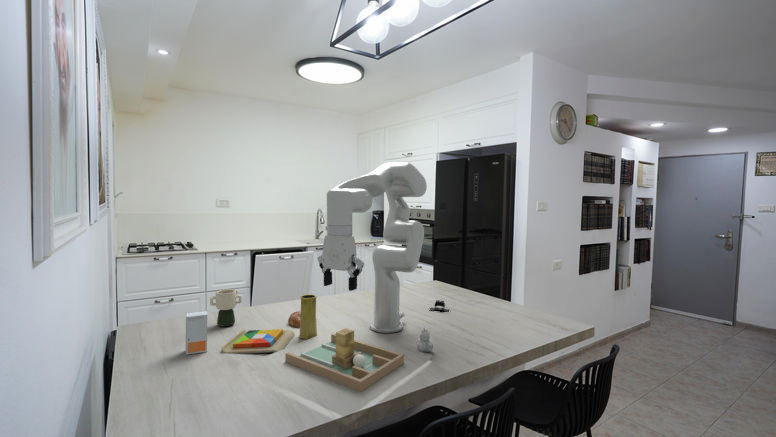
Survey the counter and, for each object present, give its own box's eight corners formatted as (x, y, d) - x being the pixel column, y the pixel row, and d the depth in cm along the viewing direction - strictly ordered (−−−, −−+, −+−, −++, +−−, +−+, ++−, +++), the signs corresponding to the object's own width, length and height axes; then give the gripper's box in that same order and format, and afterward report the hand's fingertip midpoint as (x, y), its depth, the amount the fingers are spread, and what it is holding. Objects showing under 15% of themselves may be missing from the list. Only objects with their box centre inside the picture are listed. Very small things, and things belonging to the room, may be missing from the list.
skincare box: (185, 355, 111) (185, 316, 111) (185, 350, 115) (185, 313, 115) (207, 352, 114) (207, 314, 114) (207, 347, 118) (207, 310, 117)
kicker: (346, 355, 110) (346, 326, 110) (361, 360, 107) (362, 330, 106) (330, 363, 104) (330, 332, 104) (345, 369, 101) (346, 337, 101)
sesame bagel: (311, 329, 137) (311, 319, 137) (282, 328, 138) (282, 318, 138) (319, 318, 149) (319, 309, 149) (293, 317, 150) (293, 308, 149)
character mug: (241, 320, 144) (241, 288, 144) (241, 326, 138) (241, 292, 137) (210, 323, 140) (210, 290, 139) (209, 329, 133) (209, 294, 133)
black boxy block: (454, 310, 165) (454, 300, 164) (452, 315, 158) (453, 304, 157) (427, 307, 168) (427, 298, 168) (424, 312, 161) (424, 302, 161)
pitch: (333, 344, 122) (333, 333, 122) (403, 366, 106) (404, 354, 106) (285, 365, 106) (285, 353, 106) (360, 396, 90) (360, 382, 90)
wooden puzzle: (243, 334, 131) (243, 324, 131) (295, 335, 130) (295, 326, 130) (219, 354, 114) (219, 343, 114) (279, 356, 113) (279, 345, 113)
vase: (312, 340, 125) (313, 299, 125) (296, 338, 127) (296, 297, 126) (319, 333, 131) (320, 294, 131) (303, 332, 133) (304, 293, 132)
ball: (370, 358, 103) (365, 367, 104) (361, 349, 105) (356, 359, 106) (362, 362, 100) (357, 372, 101) (353, 354, 102) (348, 363, 103)
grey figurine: (425, 347, 121) (425, 323, 121) (438, 354, 116) (439, 329, 115) (412, 350, 118) (413, 326, 118) (425, 358, 113) (426, 332, 112)
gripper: (309, 230, 110) (310, 286, 111) (354, 234, 101) (355, 294, 102) (326, 228, 116) (327, 281, 118) (370, 231, 107) (370, 288, 108)
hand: (340, 287), depth 110 cm, fingers open, 9 cm apart
